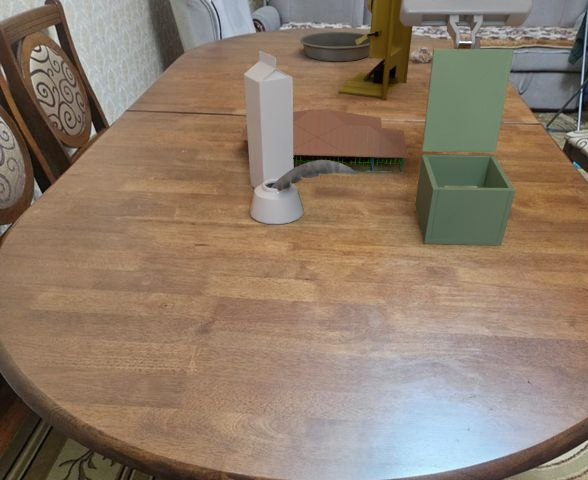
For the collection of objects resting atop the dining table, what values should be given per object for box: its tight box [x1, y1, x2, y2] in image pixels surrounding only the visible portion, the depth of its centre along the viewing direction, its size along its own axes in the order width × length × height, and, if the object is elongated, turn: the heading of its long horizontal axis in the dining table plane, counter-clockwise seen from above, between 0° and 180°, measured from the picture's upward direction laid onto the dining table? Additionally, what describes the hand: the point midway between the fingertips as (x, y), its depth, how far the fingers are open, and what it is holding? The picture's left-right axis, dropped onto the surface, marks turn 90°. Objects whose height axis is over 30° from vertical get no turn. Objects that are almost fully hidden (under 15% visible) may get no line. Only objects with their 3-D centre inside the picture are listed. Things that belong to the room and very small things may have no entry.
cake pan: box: [299, 31, 370, 62], centre depth 180 cm, size 25×25×4 cm
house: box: [238, 108, 410, 173], centre depth 111 cm, size 23×33×8 cm
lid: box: [421, 48, 515, 153], centre depth 84 cm, size 14×12×1 cm
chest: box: [414, 153, 516, 246], centre depth 86 cm, size 14×12×9 cm
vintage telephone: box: [338, 0, 414, 101], centre depth 140 cm, size 31×14×30 cm, turn 155°
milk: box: [243, 50, 295, 189], centre depth 93 cm, size 6×6×22 cm
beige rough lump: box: [409, 46, 433, 64], centre depth 171 cm, size 8×4×7 cm
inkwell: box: [249, 159, 358, 225], centre depth 88 cm, size 9×18×10 cm, turn 74°
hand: (464, 47), depth 86 cm, fingers closed
